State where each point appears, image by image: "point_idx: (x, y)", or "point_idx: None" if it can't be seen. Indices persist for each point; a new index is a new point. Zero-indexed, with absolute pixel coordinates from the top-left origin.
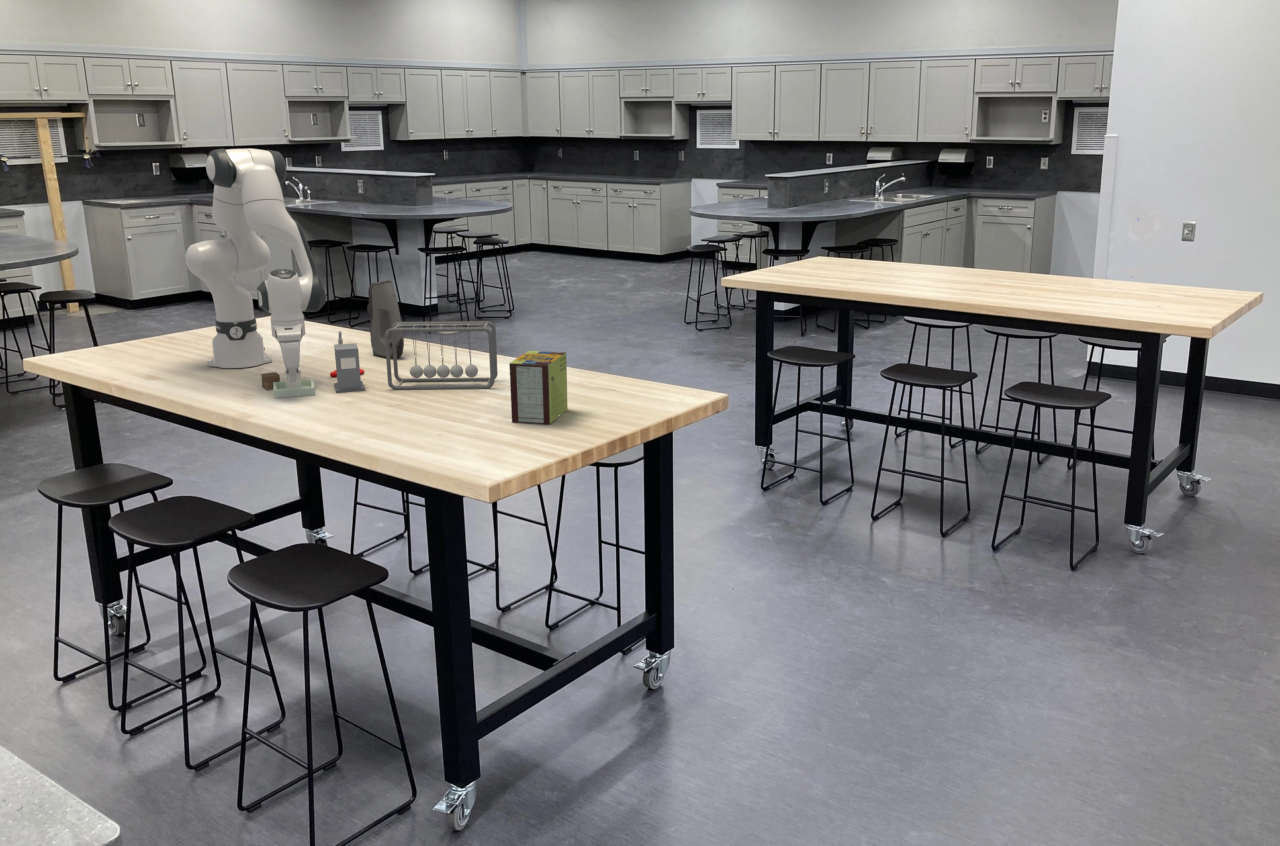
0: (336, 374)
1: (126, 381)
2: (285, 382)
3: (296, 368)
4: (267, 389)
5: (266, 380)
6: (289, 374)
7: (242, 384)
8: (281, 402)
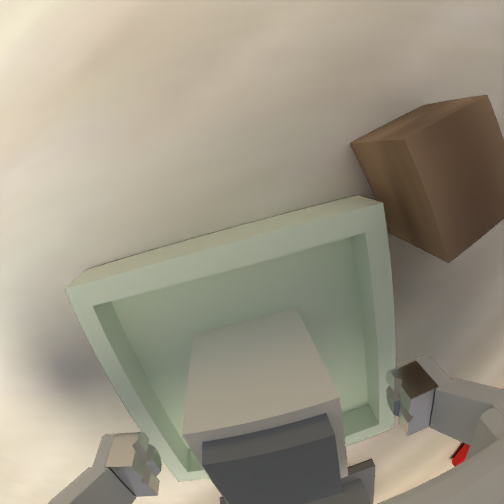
0: None
1: None
2: (372, 298)
3: (303, 497)
4: (353, 149)
5: (387, 147)
6: (76, 479)
7: (470, 4)
8: (15, 330)
